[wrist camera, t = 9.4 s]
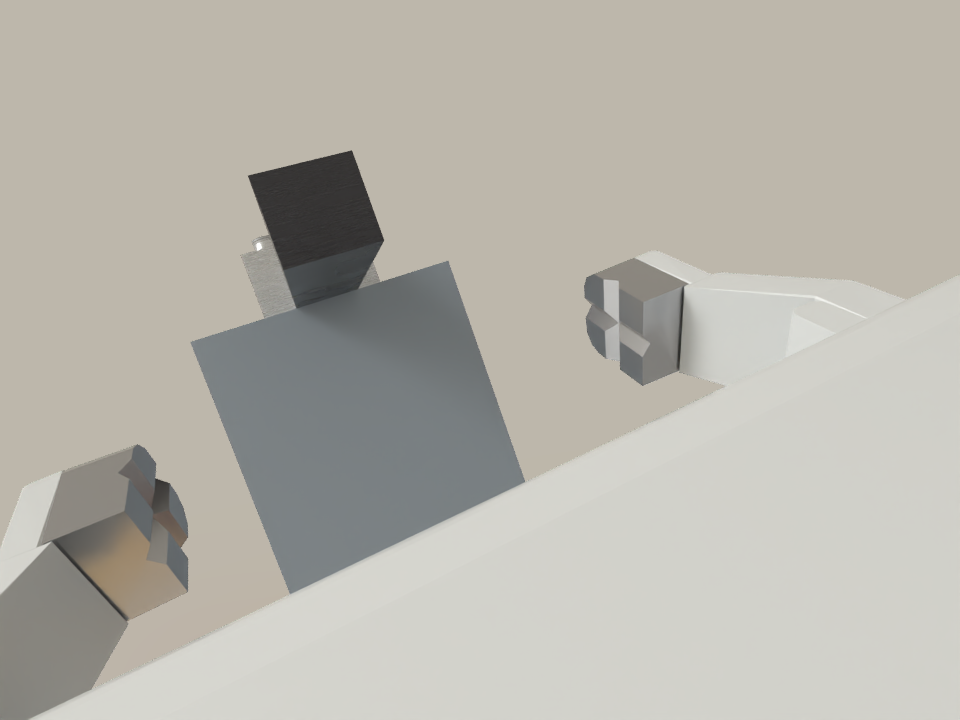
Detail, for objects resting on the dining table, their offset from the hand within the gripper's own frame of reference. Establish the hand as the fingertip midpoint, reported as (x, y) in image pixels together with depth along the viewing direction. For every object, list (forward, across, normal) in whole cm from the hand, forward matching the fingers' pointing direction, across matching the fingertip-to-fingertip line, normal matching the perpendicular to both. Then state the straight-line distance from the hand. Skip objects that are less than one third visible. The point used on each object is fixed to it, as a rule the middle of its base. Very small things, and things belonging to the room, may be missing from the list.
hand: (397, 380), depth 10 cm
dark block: (+11, 0, -3) cm, 12 cm away
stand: (+2, 0, -29) cm, 29 cm away
